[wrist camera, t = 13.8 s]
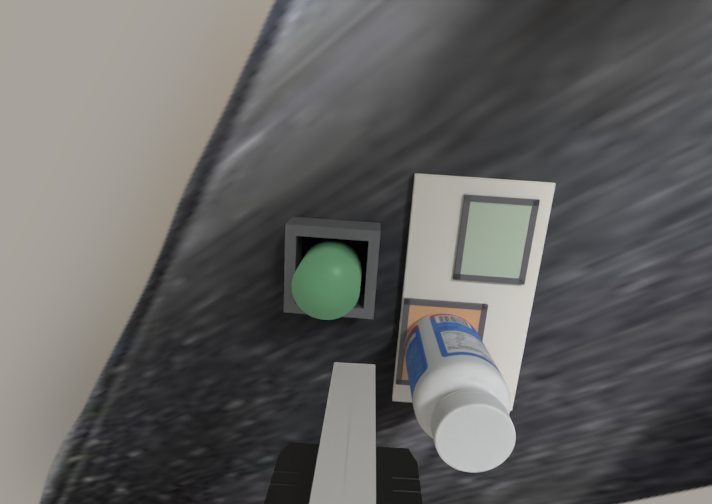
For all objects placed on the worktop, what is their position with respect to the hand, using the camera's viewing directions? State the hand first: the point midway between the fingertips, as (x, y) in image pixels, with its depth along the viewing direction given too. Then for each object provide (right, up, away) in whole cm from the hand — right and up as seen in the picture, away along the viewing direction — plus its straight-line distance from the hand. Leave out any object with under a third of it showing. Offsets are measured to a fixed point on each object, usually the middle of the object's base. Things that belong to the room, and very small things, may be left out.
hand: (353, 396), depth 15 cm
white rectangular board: (+8, +2, +14) cm, 17 cm away
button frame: (-1, +5, +14) cm, 15 cm away
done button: (-2, +4, +12) cm, 13 cm away
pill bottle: (+6, -1, +15) cm, 16 cm away
